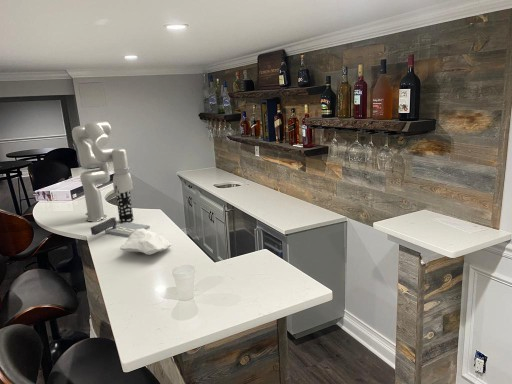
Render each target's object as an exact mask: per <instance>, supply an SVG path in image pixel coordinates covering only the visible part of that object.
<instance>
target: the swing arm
mask: <svg viewBox="0 0 512 384" xmlns="http://www.w3.org/2000/svg"><path fill="white" fill-rule="evenodd" d="M115 225H116V226H118V224H117V218H116V217H110V218H107V220H106V219H105V221H104V220H103V221H102V222H100V223H98V224H95V225H93V226H92V227H90V233H91V235H92V236H96V235H98V234H101V233H102V232H105V230H107V229H110V228H112V227H113V226H115Z"/></svg>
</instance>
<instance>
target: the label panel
mask: <svg viewBox="0 0 512 384" xmlns="http://www.w3.org/2000/svg"><path fill="white" fill-rule="evenodd" d="M150 227H151V226H150V225H149V224H140V223H134V222H126V223H120V224H117V225H115V226H113V227H111V228H109V229H107V230H105V231H104V233H105V234H108V233H109V234H111V235H114V236H115V235H116V236H121V237H126V238H129V236H130V235H131V234H132V233H133V232H134V231H135V230H136V229H142V228H143V229H146V230H148V229H151V228H150ZM109 234H108V235H109Z"/></svg>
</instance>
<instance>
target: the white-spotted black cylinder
mask: <svg viewBox="0 0 512 384" xmlns="http://www.w3.org/2000/svg"><path fill="white" fill-rule="evenodd" d="M115 198H116V203H117V211H118V212H117V213H118V217H119V218H118V219H119V223H120V222H121V223H120V224H123V223H126V222H129V223H133V222H134V221H133V220H134V219H135V218H134V213H133V206H132V198H131V193H130V194H129V197H128V199H129V204H127V205H125V204H123V202H122V198H121V196H116V195H115Z"/></svg>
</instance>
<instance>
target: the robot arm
mask: <svg viewBox="0 0 512 384" xmlns="http://www.w3.org/2000/svg"><path fill="white" fill-rule="evenodd" d="M111 133H112V126H111V124H110V123H109V121H107V120H98V121H89V122H87V123H85V125H78V126H75V127H73V128H72V130H71V136H72V140H73V142H74V144H75V146H76V148H77V154H78V158H79V162H80V167H81V168H82V169H84V170H86V171H84V172H82V173H81V174H80V177H79V179H80V182H81V185H82V189H83V194H84V199H85V206H86V213H85V216H87V217H86V218H85V220H88V221H96V222H98V221H97V220H101V219H104V218H106V217H107V218H108V216H107V214H105V212H104V206H103V205H104V204H103V199H102V192H101V190H100V189H99V188H98V187H97V185H103V184H107V183H108V182H110V180H111V175H110V169H109V163H111V162H112V166H113V167H112V168H113V173H114V174H113V177H112V186H113V187H112V188H113V192H114V193H115V197H116V196H121V198H122V202H123V204H125V205H127V204H129V199H128V197H129V194H130V195H131V193H132V192H133V191H134V190H133V189H134V184H133V179H132V175H131V174H130V170H131V169H130V167H129V163H128V154H127V150H126V149H125V148H121V147H119V146H117V147H108V148H107V147H106V148H103V147H105V146H106V145H107V144H108V143H109V139H110V138H109V136H110V134H111ZM89 140H91V141H92V143H91V142H90V141H89ZM95 168H96V169H95ZM97 168H98V169H97ZM88 169H92V170H88ZM107 218H106V219H107ZM104 220H105V219H104ZM88 221H87V222H88ZM101 221H102V220H101Z"/></svg>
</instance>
